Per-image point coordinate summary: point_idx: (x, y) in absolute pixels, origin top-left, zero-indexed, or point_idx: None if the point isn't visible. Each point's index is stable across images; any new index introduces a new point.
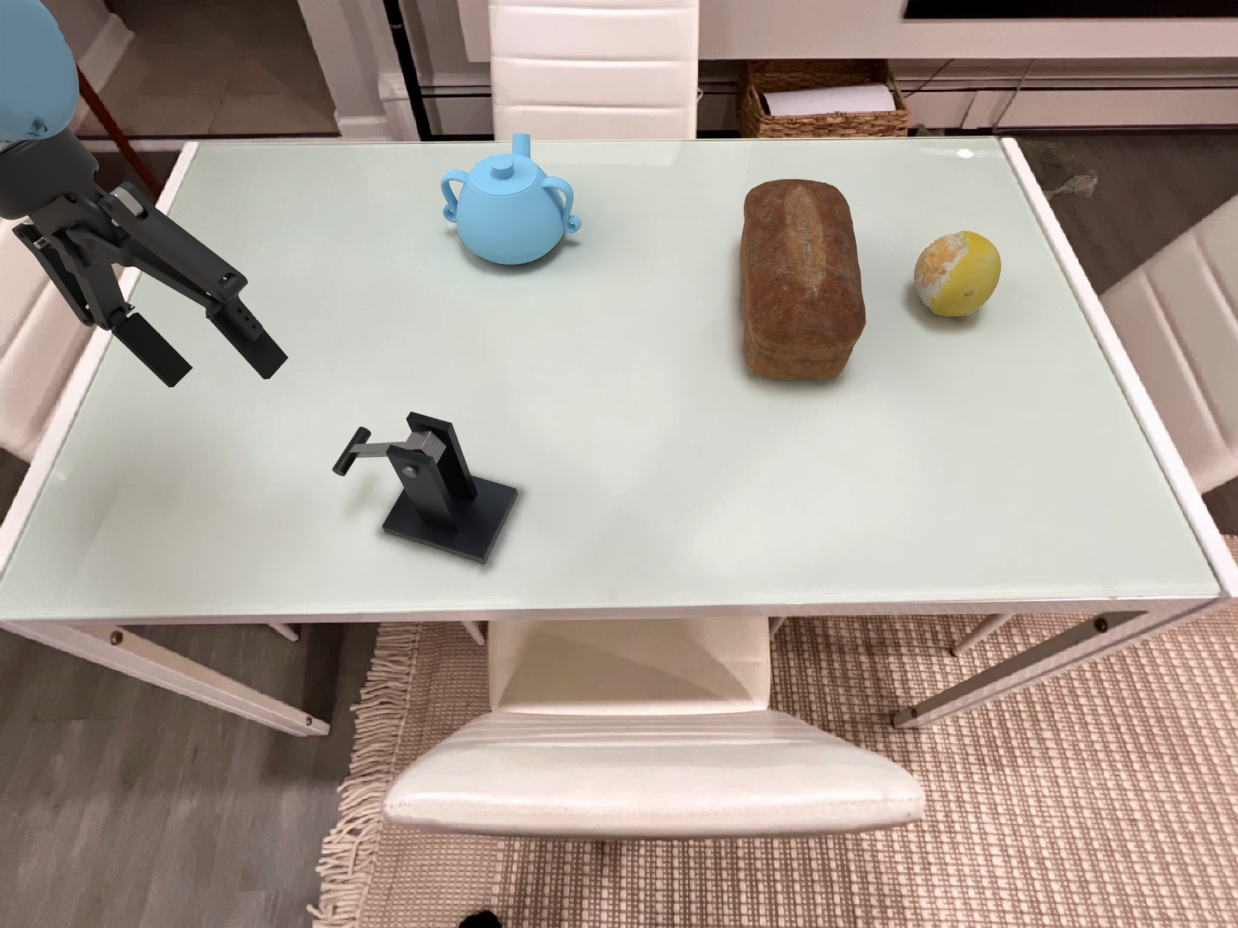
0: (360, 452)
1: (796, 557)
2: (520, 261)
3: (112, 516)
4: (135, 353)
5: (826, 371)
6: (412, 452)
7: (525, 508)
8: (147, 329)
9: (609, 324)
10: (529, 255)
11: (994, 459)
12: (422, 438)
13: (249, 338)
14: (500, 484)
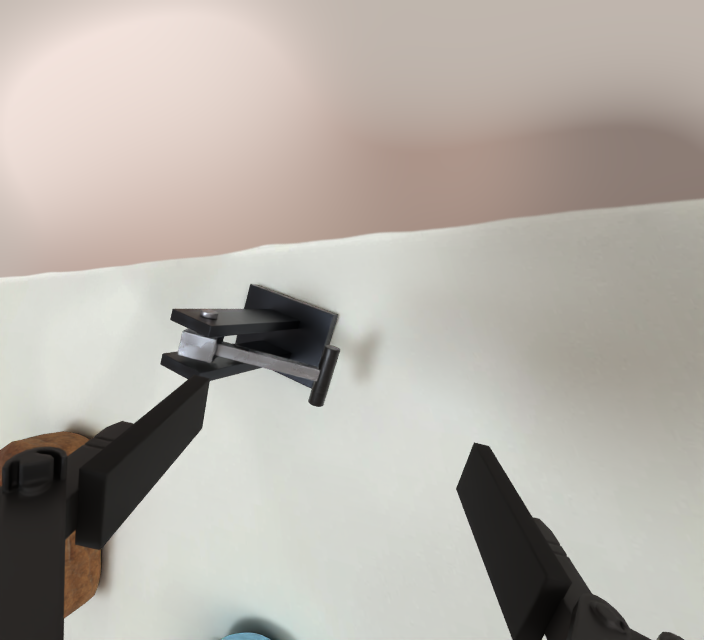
0: (300, 364)
1: (92, 295)
2: (246, 633)
3: (688, 340)
4: (523, 513)
5: (51, 433)
6: (187, 325)
7: (234, 336)
8: (499, 580)
9: (187, 524)
10: (231, 637)
11: (14, 361)
12: (186, 347)
13: (122, 426)
14: None
